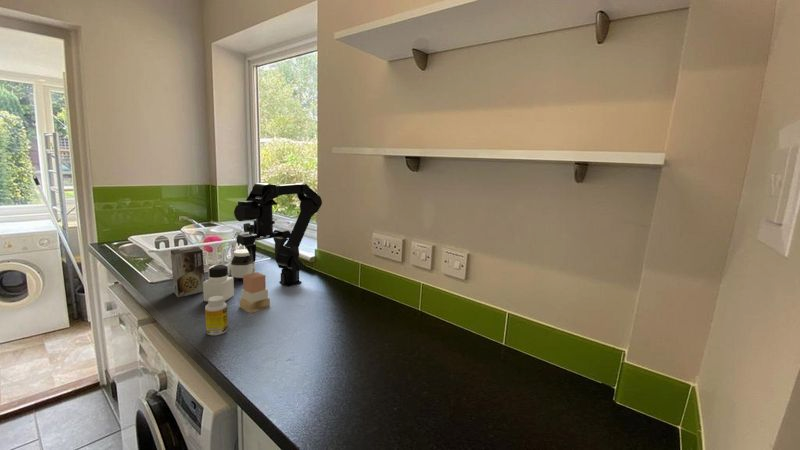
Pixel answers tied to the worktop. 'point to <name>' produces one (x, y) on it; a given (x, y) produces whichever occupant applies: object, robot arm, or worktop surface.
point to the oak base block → (254, 305)
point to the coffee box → (187, 271)
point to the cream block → (254, 295)
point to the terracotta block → (254, 282)
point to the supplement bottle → (216, 316)
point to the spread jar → (241, 264)
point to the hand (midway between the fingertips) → (265, 259)
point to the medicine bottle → (218, 283)
